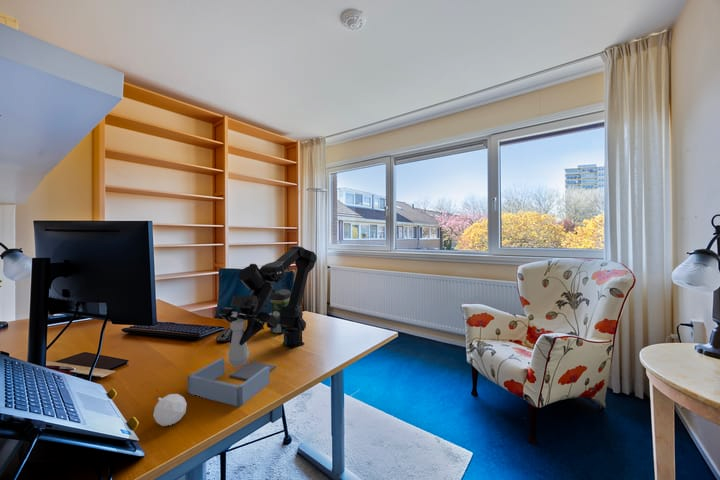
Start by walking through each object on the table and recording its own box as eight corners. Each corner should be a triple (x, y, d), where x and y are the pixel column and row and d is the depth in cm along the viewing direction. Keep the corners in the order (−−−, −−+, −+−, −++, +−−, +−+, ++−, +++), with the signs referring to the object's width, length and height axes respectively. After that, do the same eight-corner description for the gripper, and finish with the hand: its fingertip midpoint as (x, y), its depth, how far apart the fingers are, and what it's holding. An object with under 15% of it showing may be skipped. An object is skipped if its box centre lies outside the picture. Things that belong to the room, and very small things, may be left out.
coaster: (251, 362, 101) (251, 361, 101) (275, 367, 98) (275, 365, 98) (229, 376, 92) (229, 374, 92) (256, 382, 88) (256, 380, 88)
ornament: (170, 434, 66) (147, 411, 64) (164, 430, 70) (142, 409, 69) (196, 408, 70) (174, 386, 69) (189, 406, 75) (169, 385, 74)
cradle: (222, 373, 94) (221, 357, 94) (269, 383, 88) (269, 366, 88) (187, 393, 82) (187, 376, 82) (239, 406, 76) (239, 388, 76)
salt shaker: (226, 369, 85) (225, 325, 84) (230, 360, 90) (228, 319, 89) (248, 366, 86) (247, 323, 86) (250, 357, 92) (249, 317, 91)
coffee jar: (279, 326, 139) (279, 287, 138) (294, 328, 137) (294, 288, 136) (266, 333, 130) (266, 291, 129) (282, 335, 127) (282, 292, 127)
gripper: (222, 282, 94) (194, 328, 84) (271, 286, 88) (247, 336, 78) (240, 300, 102) (216, 344, 92) (286, 305, 96) (266, 352, 86)
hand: (235, 344), depth 87 cm, fingers closed on salt shaker, 3 cm apart
